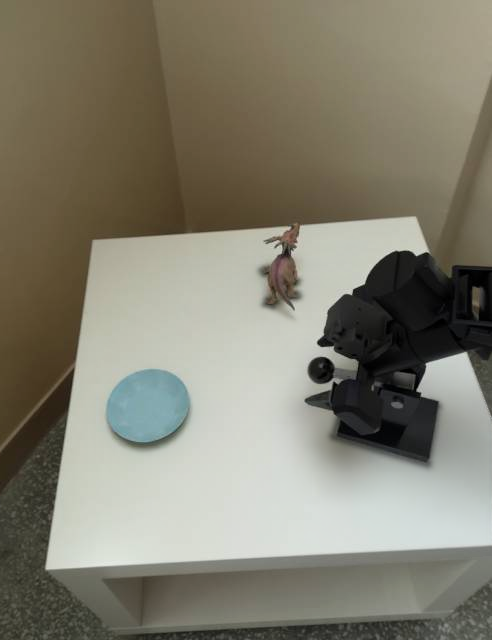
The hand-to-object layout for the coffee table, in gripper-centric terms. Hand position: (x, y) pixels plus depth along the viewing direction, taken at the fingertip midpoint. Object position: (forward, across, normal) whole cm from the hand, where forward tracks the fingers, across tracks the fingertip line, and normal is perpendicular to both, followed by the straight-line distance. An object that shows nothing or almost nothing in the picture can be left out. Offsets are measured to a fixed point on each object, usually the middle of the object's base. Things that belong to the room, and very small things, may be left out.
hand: (312, 372), depth 70 cm
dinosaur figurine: (+11, -20, -1) cm, 23 cm away
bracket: (-3, +1, +13) cm, 13 cm away
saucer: (+21, +7, -10) cm, 24 cm away
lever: (-4, 0, +4) cm, 6 cm away
